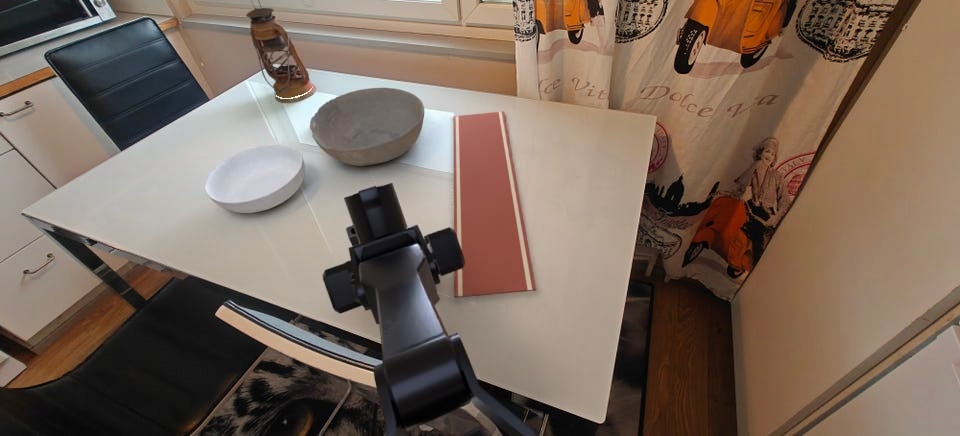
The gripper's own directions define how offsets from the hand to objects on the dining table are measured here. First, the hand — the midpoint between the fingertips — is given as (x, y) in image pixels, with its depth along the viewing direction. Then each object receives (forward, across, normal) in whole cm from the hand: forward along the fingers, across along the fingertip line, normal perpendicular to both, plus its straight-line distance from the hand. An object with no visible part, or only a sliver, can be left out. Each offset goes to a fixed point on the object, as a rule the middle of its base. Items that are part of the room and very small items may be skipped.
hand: (395, 265), depth 65 cm
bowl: (+41, -5, -28) cm, 50 cm away
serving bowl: (+36, +23, -24) cm, 49 cm away
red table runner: (+22, -24, -9) cm, 34 cm away
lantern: (+73, +13, -59) cm, 95 cm away
